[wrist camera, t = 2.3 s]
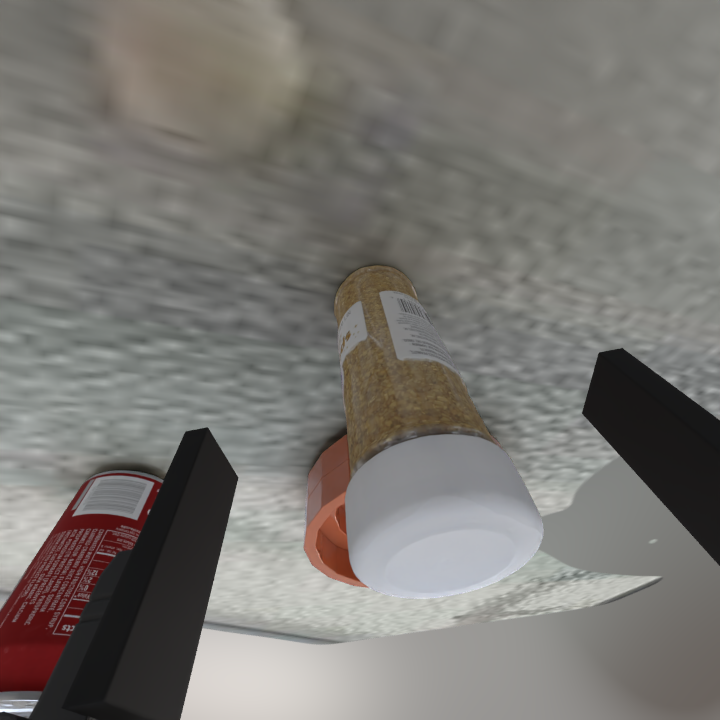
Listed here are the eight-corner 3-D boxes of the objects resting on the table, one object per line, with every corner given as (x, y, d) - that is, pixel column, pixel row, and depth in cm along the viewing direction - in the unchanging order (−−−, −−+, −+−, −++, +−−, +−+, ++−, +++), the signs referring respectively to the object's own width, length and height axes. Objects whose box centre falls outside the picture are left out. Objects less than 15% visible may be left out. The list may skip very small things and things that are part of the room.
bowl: (418, 367, 21) (440, 426, 17) (534, 468, 29) (569, 525, 25) (266, 487, 27) (256, 552, 23) (395, 546, 34) (405, 604, 30)
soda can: (90, 452, 23) (-80, 695, 13) (194, 474, 25) (113, 697, 16) (82, 506, 26) (-59, 734, 17) (175, 522, 29) (99, 731, 19)
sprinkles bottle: (317, 292, 18) (306, 560, 7) (393, 244, 17) (521, 475, 6) (361, 352, 20) (405, 621, 9) (430, 314, 19) (570, 568, 8)
